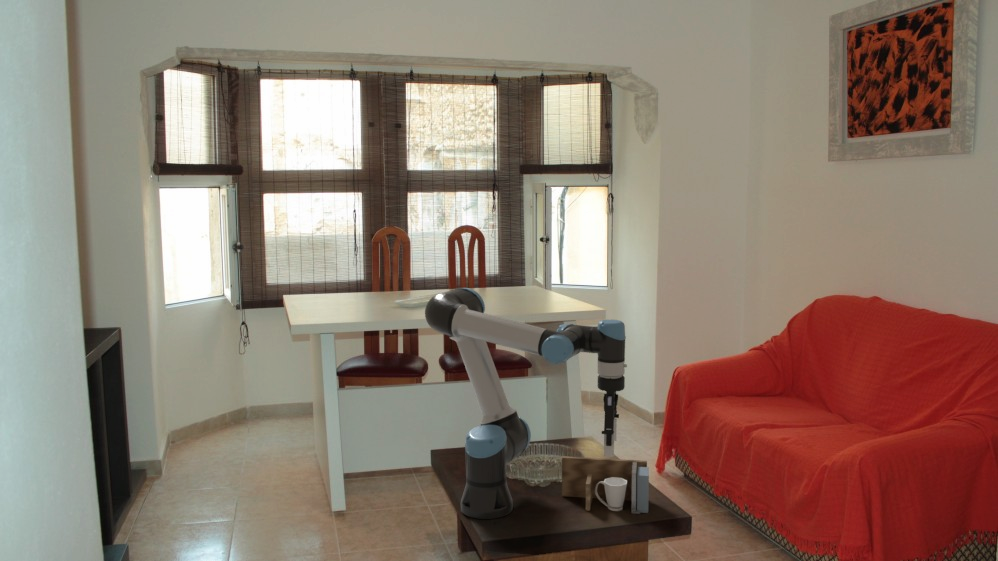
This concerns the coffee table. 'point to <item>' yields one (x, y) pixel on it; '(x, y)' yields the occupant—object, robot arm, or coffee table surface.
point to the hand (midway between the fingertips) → (610, 448)
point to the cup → (613, 492)
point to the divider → (588, 492)
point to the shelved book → (643, 489)
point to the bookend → (634, 489)
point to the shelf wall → (595, 474)
